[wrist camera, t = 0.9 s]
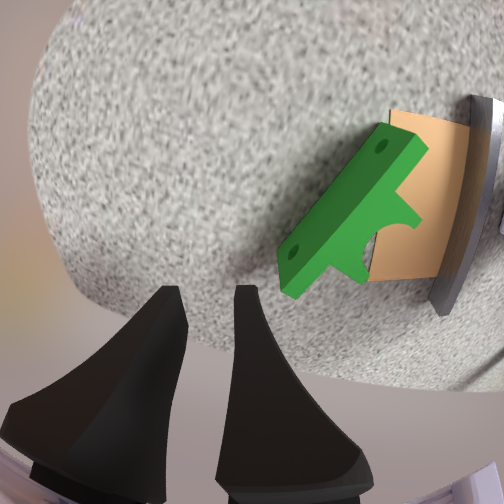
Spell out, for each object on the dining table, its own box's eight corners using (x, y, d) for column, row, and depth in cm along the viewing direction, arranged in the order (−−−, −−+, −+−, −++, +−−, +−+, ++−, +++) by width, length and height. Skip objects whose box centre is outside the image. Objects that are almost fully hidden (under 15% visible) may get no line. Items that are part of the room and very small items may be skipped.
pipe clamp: (316, 273, 21) (327, 317, 17) (276, 249, 20) (279, 291, 16) (418, 158, 16) (456, 181, 12) (381, 120, 15) (417, 133, 11)
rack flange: (497, 104, 12) (518, 110, 10) (452, 295, 22) (464, 312, 20) (391, 72, 13) (410, 70, 11) (361, 304, 22) (369, 325, 20)
